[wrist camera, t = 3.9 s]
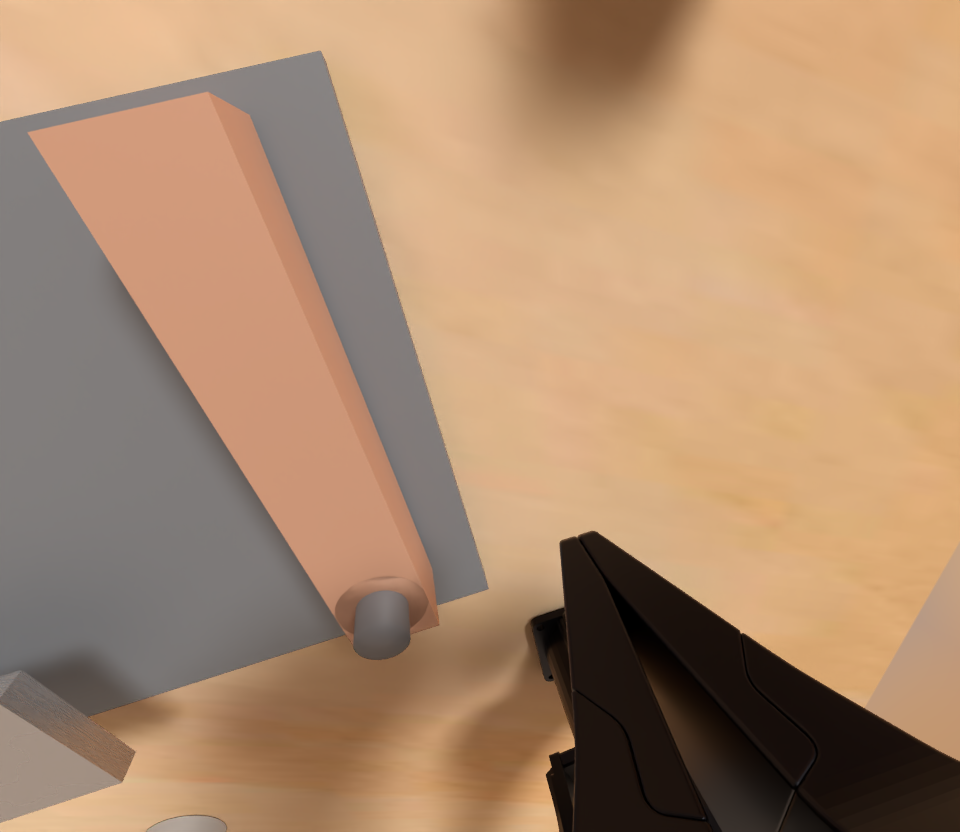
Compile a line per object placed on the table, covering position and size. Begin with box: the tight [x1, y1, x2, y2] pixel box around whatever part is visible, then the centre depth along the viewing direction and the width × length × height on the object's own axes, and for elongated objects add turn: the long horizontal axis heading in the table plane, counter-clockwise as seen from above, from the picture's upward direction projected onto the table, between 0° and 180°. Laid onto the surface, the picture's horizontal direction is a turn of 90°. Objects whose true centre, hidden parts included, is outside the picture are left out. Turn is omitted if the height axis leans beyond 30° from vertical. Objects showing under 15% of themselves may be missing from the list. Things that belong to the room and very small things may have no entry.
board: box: [0, 51, 489, 717], centre depth 16 cm, size 22×25×1 cm
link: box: [27, 92, 439, 660], centre depth 13 cm, size 18×4×4 cm, turn 13°
